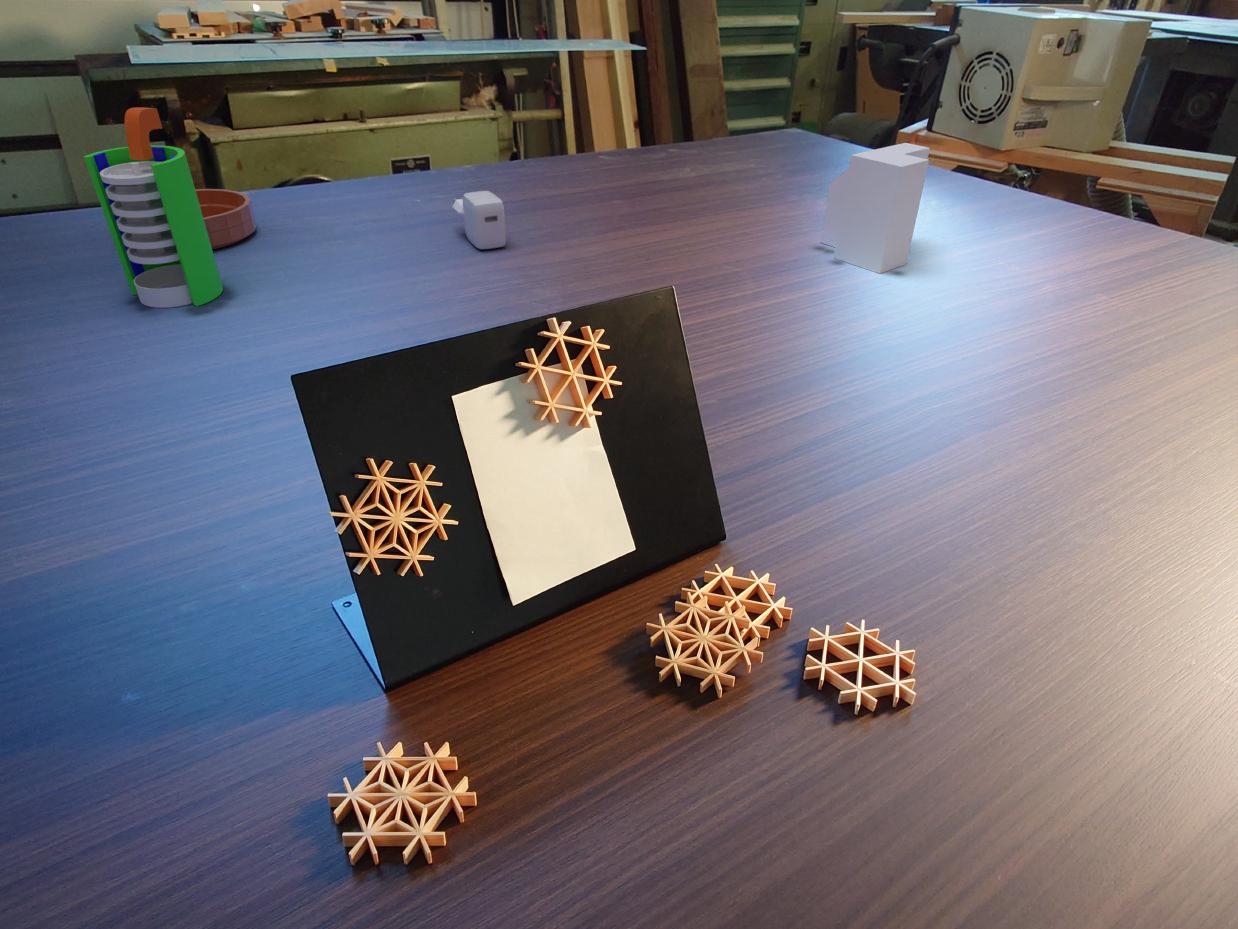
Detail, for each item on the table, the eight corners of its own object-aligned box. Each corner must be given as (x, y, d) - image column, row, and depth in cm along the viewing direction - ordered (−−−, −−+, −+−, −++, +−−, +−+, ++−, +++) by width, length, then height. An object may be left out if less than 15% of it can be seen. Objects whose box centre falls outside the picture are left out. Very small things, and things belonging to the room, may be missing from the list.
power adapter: (448, 227, 106) (443, 181, 103) (484, 222, 108) (480, 177, 105) (474, 253, 98) (470, 204, 94) (512, 247, 99) (509, 199, 96)
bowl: (106, 245, 98) (95, 212, 96) (199, 214, 109) (190, 183, 107) (194, 262, 94) (184, 228, 91) (281, 228, 105) (274, 197, 102)
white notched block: (879, 273, 94) (901, 166, 87) (803, 247, 101) (818, 147, 94) (931, 254, 100) (955, 153, 93) (855, 231, 107) (873, 135, 100)
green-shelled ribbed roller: (115, 305, 83) (49, 118, 73) (159, 277, 90) (104, 102, 80) (200, 309, 82) (145, 121, 72) (238, 281, 89) (193, 105, 79)
